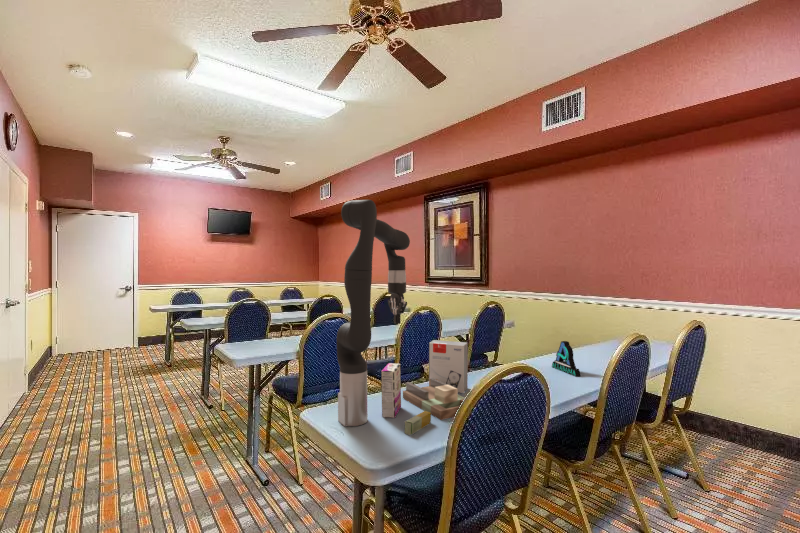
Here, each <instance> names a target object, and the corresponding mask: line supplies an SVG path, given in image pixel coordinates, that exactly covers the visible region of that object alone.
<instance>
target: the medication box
mask: <svg viewBox="0 0 800 533" xmlns="http://www.w3.org/2000/svg"><path fill="white" fill-rule="evenodd" d="M431 419H432V415H431V413H430V412H427V411H424V410H423V411H422V412H420V413H418V414H416V415H414V416H413V417H411V418H409V419H407V420H405V421H404V434H405V435H408V436H413V434H415V433H417V432H419V431H420V430H423V428H425V427H427V426H428V425H429V424H431V423H432V422H431Z"/></svg>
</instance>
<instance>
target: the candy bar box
mask: <svg viewBox="0 0 800 533" xmlns="http://www.w3.org/2000/svg"><path fill="white" fill-rule="evenodd" d="M380 374H381V375H380V376H381V379H380V380H381V385H380V386H381V418H388V419H389V418H392V419H396V417H397V415H398V413H399V412H400V409H401V408H402V395H401V394H402V390H401V388H402V386H401V378H402V377H401V363H395V362H394V363H392V362H389V363H387V364H386V366H385V367H384V368H383V369H382V370H381V372H380Z"/></svg>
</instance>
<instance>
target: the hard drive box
mask: <svg viewBox="0 0 800 533" xmlns="http://www.w3.org/2000/svg"><path fill="white" fill-rule="evenodd" d="M468 346H469V344H468V342H465V341H455V340H454V341H452V340H439V339H438V340H437V339H433V340H431V341H430V342H428V386H430V379H431V378H434V379H436V380H439V381H441V382H443V383H446V384H448V385H450V386H453V387H455V388H457V389H458V393H461V394H464V393H465V392H466V391H467V390H468V380H469V379H468V375H469V374H468V366H469V365H468V364H469V363H468V362H469V361H468V359H469V358H468V357H469V356H468V355H469V352H468V350H469V348H468Z"/></svg>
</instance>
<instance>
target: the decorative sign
mask: <svg viewBox="0 0 800 533" xmlns="http://www.w3.org/2000/svg"><path fill="white" fill-rule="evenodd" d="M555 355H556V358H555V360H554V361H552V364H551V367H552V369H555V370H558V371H559V372H560V371H561V372H563V373H565V374H568V375H570V376H573V377H575V378H578V377H582V375H581V372H580V369H579V368H577V367H576V364H575V359H574V350H573V347H572V346H571V344H570V342H569V341H566V340H562V341H560V345H559V347H558V350H557V351H556V354H555Z"/></svg>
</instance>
